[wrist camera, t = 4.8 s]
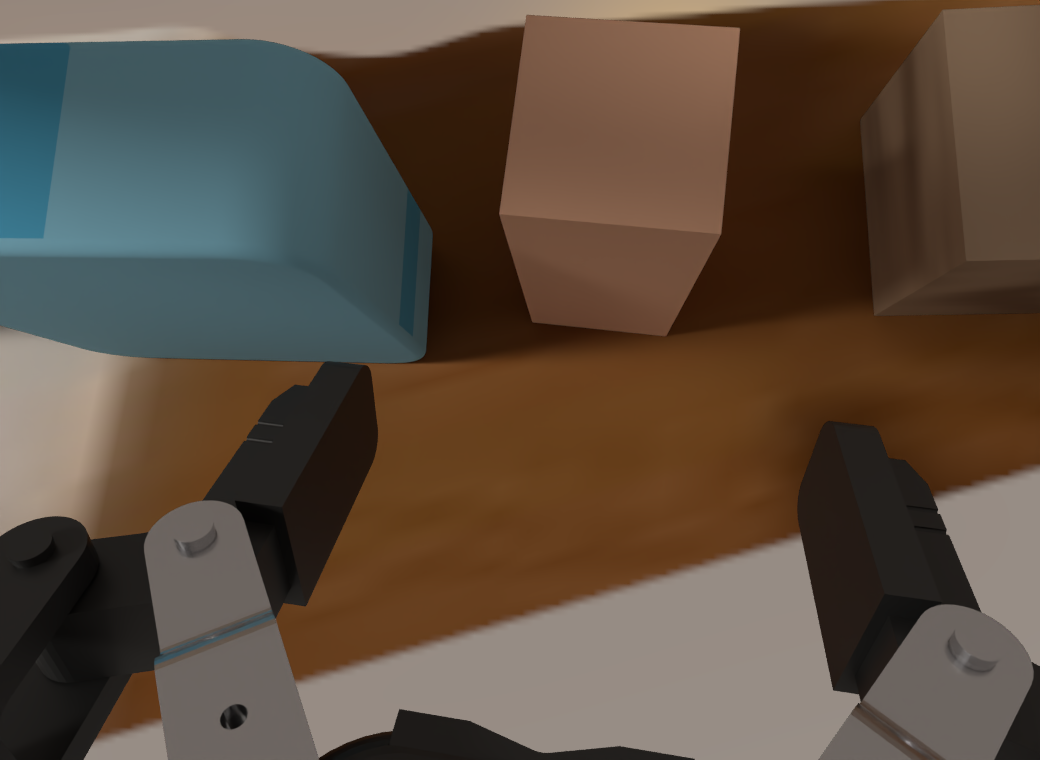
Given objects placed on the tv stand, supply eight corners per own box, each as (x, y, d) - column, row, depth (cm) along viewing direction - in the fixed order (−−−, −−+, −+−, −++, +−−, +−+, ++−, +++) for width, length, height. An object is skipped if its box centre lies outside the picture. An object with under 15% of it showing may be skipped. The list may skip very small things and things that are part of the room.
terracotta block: (665, 336, 25) (720, 234, 15) (532, 322, 25) (499, 214, 15) (679, 208, 25) (740, 27, 15) (548, 196, 26) (526, 15, 16)
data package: (442, 241, 26) (323, 31, 14) (435, 365, 25) (303, 255, 13) (124, 238, 27) (-235, 41, 15) (109, 357, 26) (-278, 249, 14)
